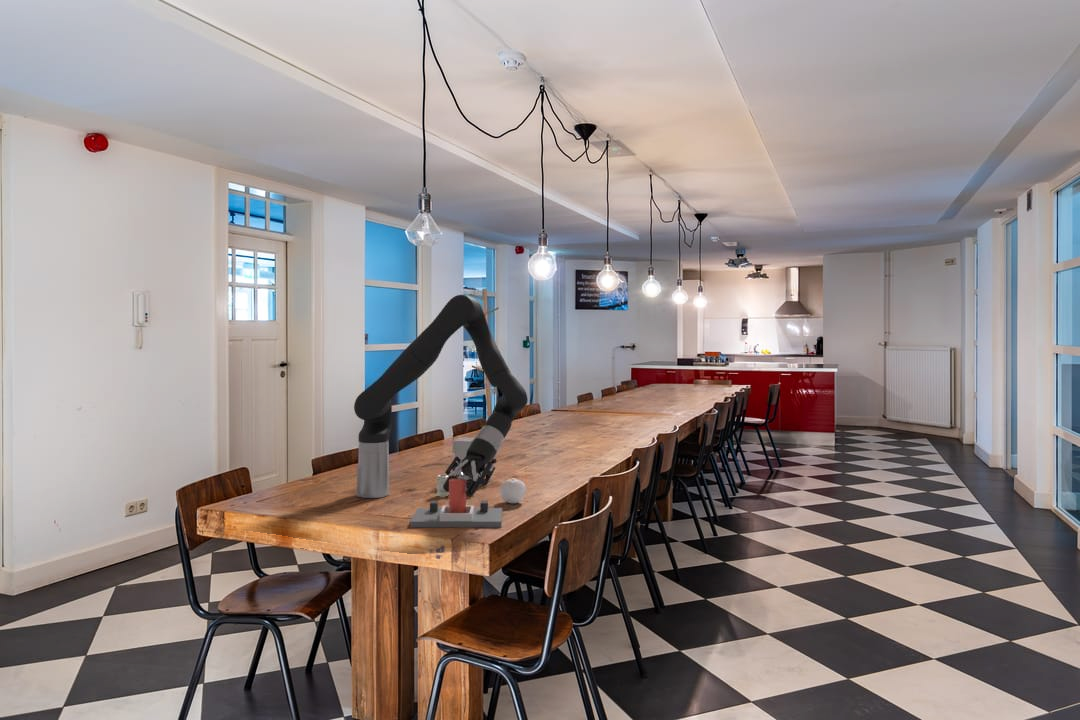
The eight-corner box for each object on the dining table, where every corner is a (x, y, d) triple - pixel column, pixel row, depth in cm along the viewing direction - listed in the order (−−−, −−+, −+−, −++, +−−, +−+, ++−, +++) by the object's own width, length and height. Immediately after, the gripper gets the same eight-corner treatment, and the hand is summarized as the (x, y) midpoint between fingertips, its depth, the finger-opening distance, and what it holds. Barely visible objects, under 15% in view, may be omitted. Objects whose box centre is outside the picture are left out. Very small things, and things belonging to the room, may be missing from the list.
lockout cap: (448, 519, 177) (448, 481, 177) (449, 514, 182) (449, 478, 182) (465, 519, 177) (465, 481, 177) (466, 514, 182) (466, 478, 182)
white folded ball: (524, 499, 206) (524, 475, 206) (527, 505, 198) (527, 480, 198) (498, 500, 205) (498, 475, 205) (500, 506, 197) (500, 480, 197)
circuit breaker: (492, 485, 225) (493, 441, 225) (452, 484, 227) (452, 440, 227) (497, 481, 233) (498, 438, 232) (458, 479, 235) (458, 437, 234)
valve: (438, 499, 206) (475, 496, 210) (438, 478, 206) (476, 475, 210) (434, 494, 212) (471, 492, 216) (434, 473, 212) (471, 471, 216)
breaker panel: (409, 527, 175) (410, 512, 174) (417, 513, 189) (417, 499, 188) (501, 527, 176) (501, 512, 175) (502, 513, 190) (502, 499, 189)
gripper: (461, 434, 190) (431, 480, 181) (498, 439, 181) (468, 488, 173) (473, 450, 194) (445, 496, 186) (510, 456, 186) (482, 504, 177)
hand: (456, 492), depth 179 cm, fingers open, 8 cm apart
